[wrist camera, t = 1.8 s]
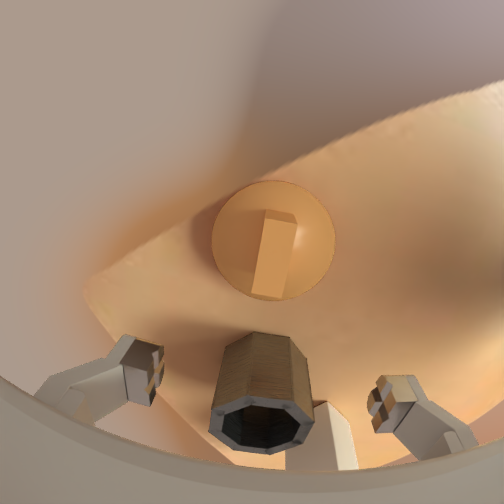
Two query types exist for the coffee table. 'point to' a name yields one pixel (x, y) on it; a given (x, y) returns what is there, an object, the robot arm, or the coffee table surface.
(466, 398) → the coffee table surface
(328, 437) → the milk carton
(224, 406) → the graphite tube
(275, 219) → the orange cap
